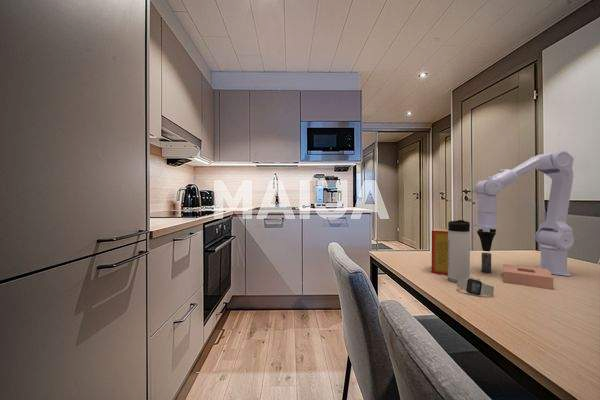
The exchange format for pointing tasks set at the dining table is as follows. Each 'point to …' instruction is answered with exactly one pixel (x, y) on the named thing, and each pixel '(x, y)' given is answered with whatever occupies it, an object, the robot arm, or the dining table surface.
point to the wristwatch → (475, 287)
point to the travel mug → (458, 250)
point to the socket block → (527, 276)
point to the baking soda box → (440, 251)
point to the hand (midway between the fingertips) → (486, 249)
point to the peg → (486, 263)
